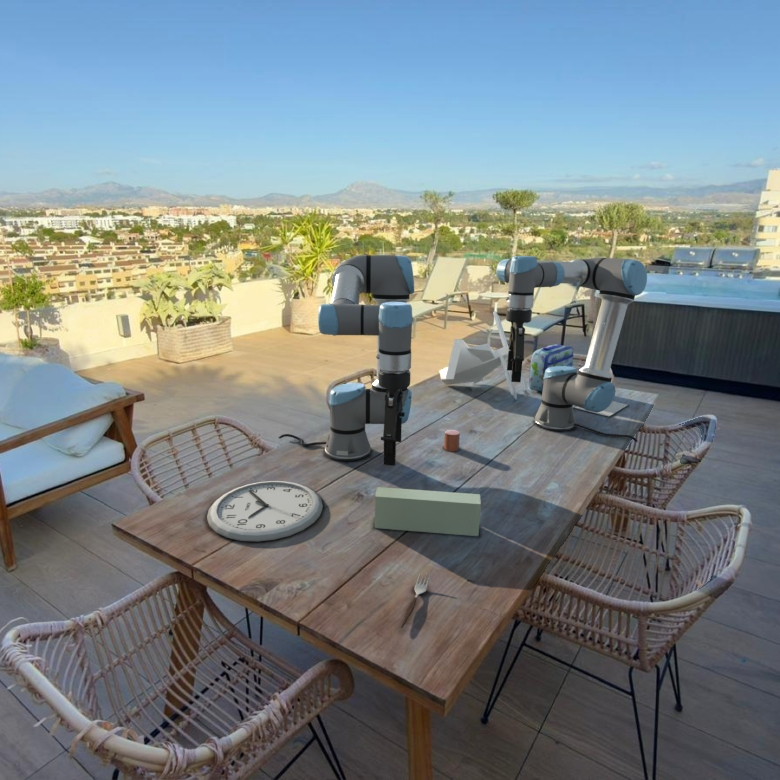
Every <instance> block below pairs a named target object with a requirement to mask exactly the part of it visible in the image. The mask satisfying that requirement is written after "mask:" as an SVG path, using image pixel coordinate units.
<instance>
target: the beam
mask: <svg viewBox="0 0 780 780" xmlns="http://www.w3.org/2000/svg"><path fill="white" fill-rule="evenodd" d="M481 507H482V501H481V494H480V493H466V492H451V491H440V490H438V491H437V490H426V489H425V490H423V489H412V488H397V487H382V486H378V487H377V488H376V492H375V496H374V529H381V530H395V531H408V532H420V533H433V534H445V535H457V536H467V537H479V533H480V524H481V523H480V521H481V510H482V509H481Z"/></svg>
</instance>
